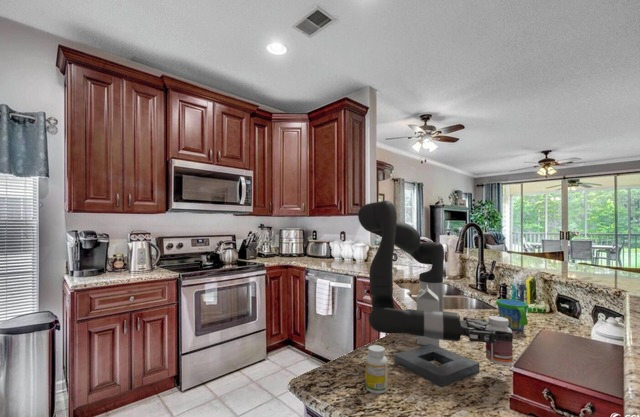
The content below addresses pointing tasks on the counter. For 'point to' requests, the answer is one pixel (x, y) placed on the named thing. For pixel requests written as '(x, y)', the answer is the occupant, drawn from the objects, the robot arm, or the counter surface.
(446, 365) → the holder block
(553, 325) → the counter surface
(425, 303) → the milk carton
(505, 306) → the snack cup
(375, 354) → the supplement bottle
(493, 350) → the pill bottle
